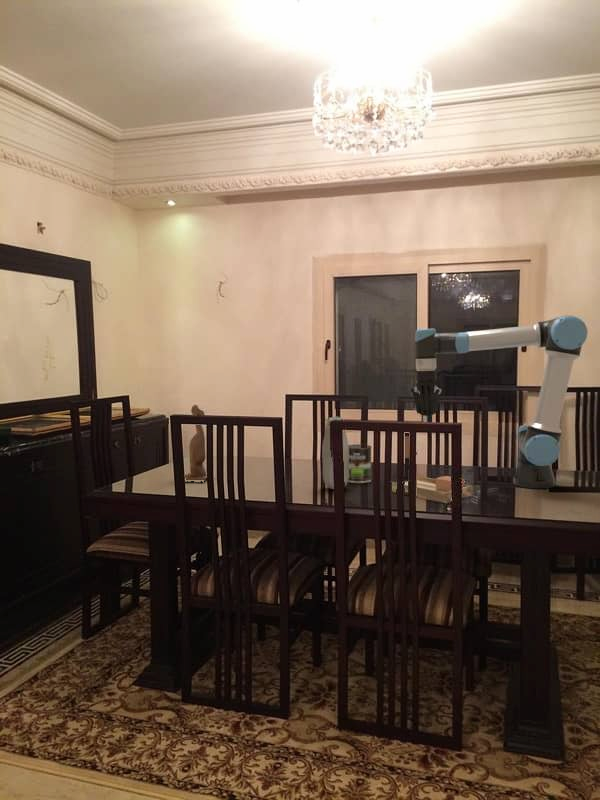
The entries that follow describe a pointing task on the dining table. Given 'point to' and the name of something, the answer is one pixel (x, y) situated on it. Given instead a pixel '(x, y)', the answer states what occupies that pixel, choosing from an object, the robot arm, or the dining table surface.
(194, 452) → the bird sculpture
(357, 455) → the coffee can
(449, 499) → the trap lane
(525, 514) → the dining table surface
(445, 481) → the block
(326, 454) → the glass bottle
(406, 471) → the travel mug
